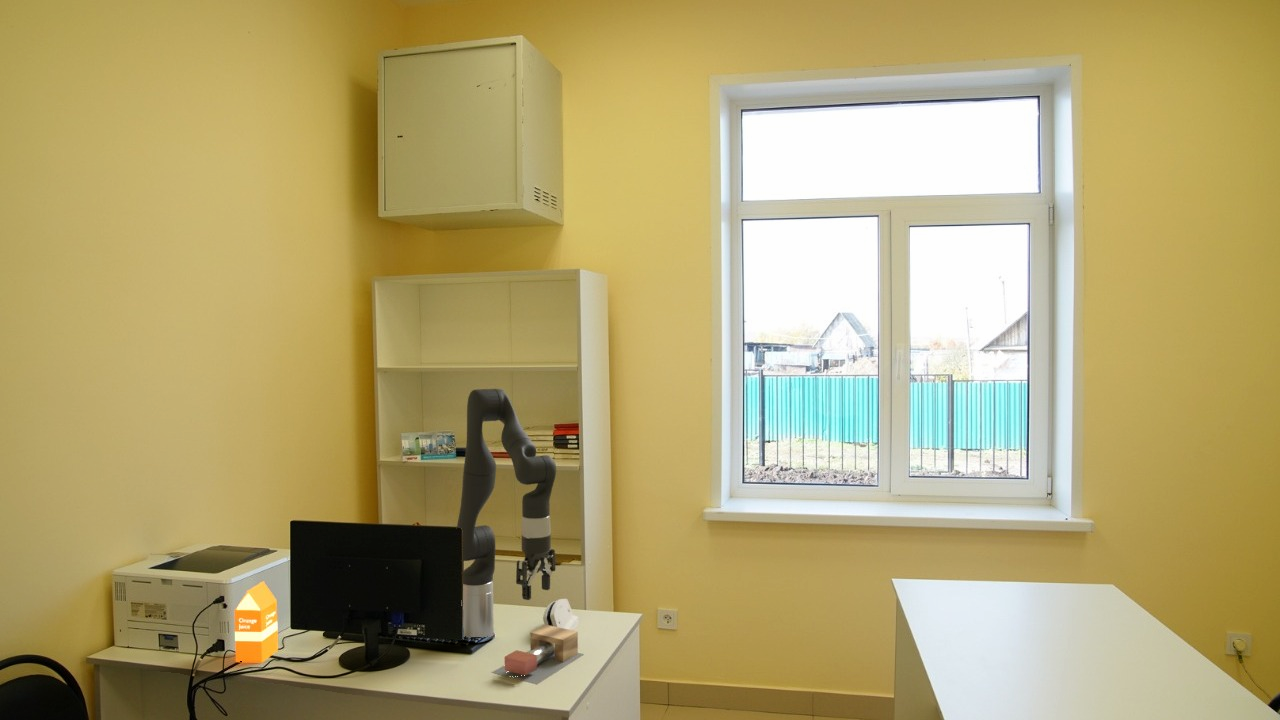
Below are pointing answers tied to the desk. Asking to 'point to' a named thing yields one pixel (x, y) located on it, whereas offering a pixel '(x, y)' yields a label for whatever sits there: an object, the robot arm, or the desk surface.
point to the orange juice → (256, 625)
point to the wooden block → (556, 641)
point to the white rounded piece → (560, 615)
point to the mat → (539, 670)
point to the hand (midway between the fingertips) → (536, 594)
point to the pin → (528, 659)
